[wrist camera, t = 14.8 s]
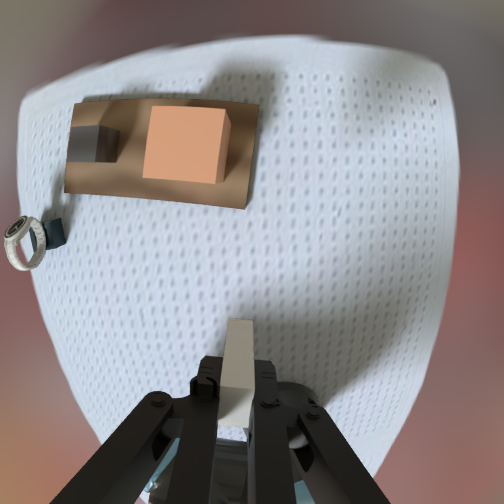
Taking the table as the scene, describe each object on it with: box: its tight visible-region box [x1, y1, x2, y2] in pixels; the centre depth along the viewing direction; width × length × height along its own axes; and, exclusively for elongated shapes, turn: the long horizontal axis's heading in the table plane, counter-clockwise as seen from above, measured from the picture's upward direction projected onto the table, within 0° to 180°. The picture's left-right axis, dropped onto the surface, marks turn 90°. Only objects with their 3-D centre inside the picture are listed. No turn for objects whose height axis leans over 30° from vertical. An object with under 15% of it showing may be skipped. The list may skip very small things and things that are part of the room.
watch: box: [4, 216, 66, 271], centre depth 33 cm, size 6×8×11 cm
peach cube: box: [143, 106, 231, 184], centre depth 30 cm, size 8×8×9 cm
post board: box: [64, 98, 259, 210], centre depth 32 cm, size 14×28×8 cm, turn 82°
